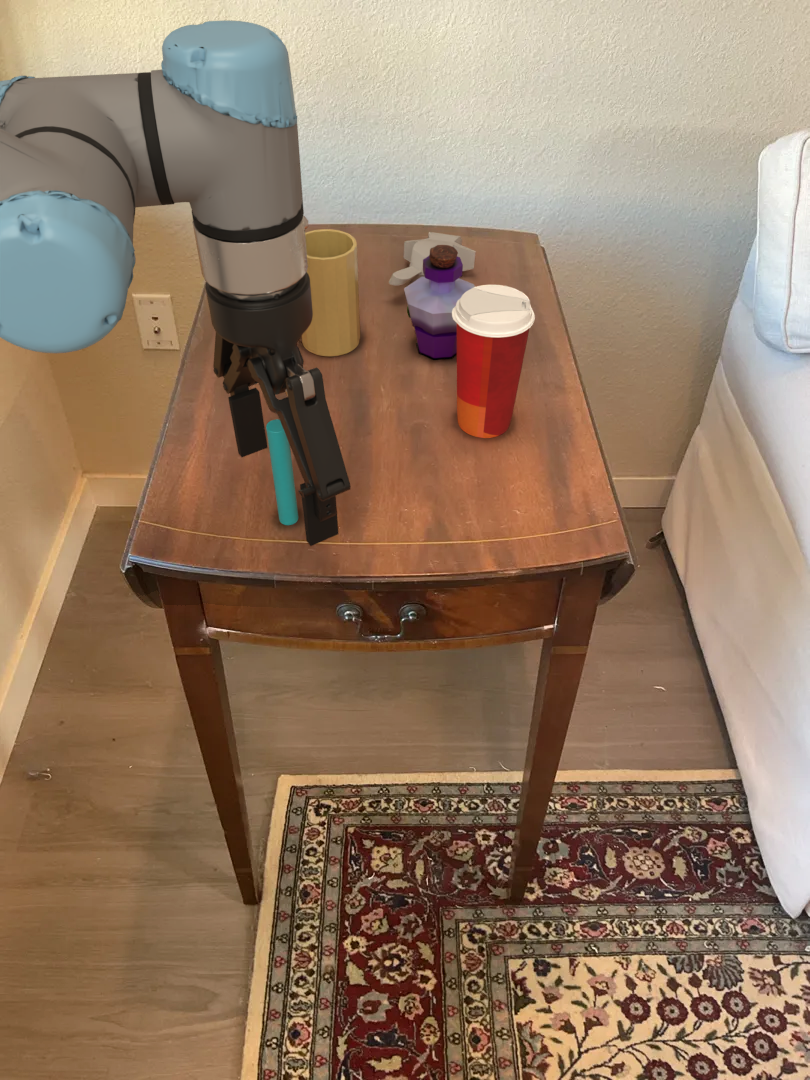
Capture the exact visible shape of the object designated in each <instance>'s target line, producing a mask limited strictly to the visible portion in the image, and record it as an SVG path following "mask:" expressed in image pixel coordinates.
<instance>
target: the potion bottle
mask: <svg viewBox="0 0 810 1080" xmlns="http://www.w3.org/2000/svg"><path fill="white" fill-rule="evenodd" d="M457 254H458V252H457V250H456V249H455V248H454V247H452V246H449V245H437V246H435V247H433V248H431V249H430V255H429V256H428V257H426V258H425V259H423V273H424V276H425V277H420V278H419V279H417V280H416V281H414V282H413V283H412V282H410V284H409V285H406V287H404V288H403V291H404V295H405V300H406V304H407V305H406V306H407V307H406V309H407V310H406V312H407V317H408V318H409V319H410V321H411V324H412V325H411V326H412V327H413V328H414V333H415V338H416V343H415V345H416V349H417V353H418V355H421V356H423V357H425V358H427V359H429V360H431V361H442V360H443V361H444V360H453V359H455V357H457V323H456V322H455V321H454V320H453V317H452V310H453V308H454V307H455V306H456V303H457V301H458V300H459V299H460V298H461V297H462V295H463V294H464V293H465V292H467V291H468V290H470V289H472V288H474V287H476V285H475V284H474V283H473V282H470V281H467V280H465V279H462V278H461V277H463V271H462V270H463V264H462V261H461V259H460V257H457Z"/></svg>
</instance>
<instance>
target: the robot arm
mask: <svg viewBox="0 0 810 1080" xmlns="http://www.w3.org/2000/svg"><path fill="white" fill-rule="evenodd" d="M161 51H162V53H161V55H162V61H161V62H160V66H161V69H153V70H150V71H148V72H146V71H144V72H131V73H128V72H127V73H109V74H90V75H86V74H85V75H69V76H48V77H47V76H46V77H45V76H44V77H36V76H30V75H28V76H27V75H17V76H14V77H12V78H11V79H5V80H0V339H2V340H3V341H5V342H7V343H10V344H11V345H14V346H16V347H19V348H22V349H24V350H27V351H31V352H36V353H43V354H67V353H72V352H77V351H81V350H84V349H87V348H89V347H91V346H93V345H96V344H97V343H98V342H100V341H101V340H103V339H104V338H105V337H106V336H107V335H109V334H110V333H111V331H112V330H113V329H114V328H115V327H116V326H117V325H118V323H119V322H120V321H121V320H122V318H123V315H124V311H125V308H126V304H127V297H128V294H129V293H128V292H129V289H130V286H131V284H132V282H133V280H134V268H135V265H136V259H137V258H136V255H135V251H136V250H135V247H134V224H135V218H136V217H135V216H136V208H145V207H146V208H147V207H157V206H159V207H160V206H170V205H175V204H178V203H180V204H181V203H189V206H190V209H191V216H192V227H193V234H194V238H195V244H196V249H197V255H198V261H199V267H200V271H201V275H202V277H203V279H204V281H205V293H206V299H207V305H208V309H209V315H210V320H211V325H212V327H213V330H214V331H215V338H214V350H213V351H214V352H213V365H212V367H213V373H214V375H215V376H216V377H217V378H223V380H222V388H223V389H224V391H225V392H226V394H228V395H229V396H228V397H227V399H228V404H229V408H230V415H231V420H232V426H233V431H234V437H235V442H236V449H237V453H238V455H239V456H240V457H241V458H245V457H247V456H251V455H252V454H255V453H257V452H259V451H263V450H265V449H269V446H268V439H267V432H266V425H265V420H264V414H263V413H264V412H263V407H262V401H261V400H262V399H261V393H260V391H259V390H258V388H257V387H253V388H250V387H252V386H255V385H256V384H258V385H259V388H260V390H261V392H262V396H263V398H264V400H265V403H266V405H267V408H268V410H269V412H271V413H275V414H277V417H278V419H280V421H281V424H282V427H283V429H284V432H285V434H286V437H287V439H288V442H289V444H290V449H291V453H292V454H293V457H294V459H295V461H296V464H297V467H298V469H299V472H300V474H301V477H302V479H303V481H304V482H303V483H299V487H300V489H299V490H297V492H298V495H300V498H301V506H302V513H303V514H302V515H303V521H304V522H303V523H304V530H305V531H304V532H305V540H306V542H307V544H308V545H309V546H310V547H313V546H314V545H317V544H319V543H322V542H324V541H326V540H328V539H330V538H333V537H335V536H337V535H339V523H338V508H337V507H338V506H337V496H339V495H341V494H343V493H345V492H348V491H350V490H351V481H350V479H349V476H348V471H347V469H346V465H345V460H344V458H343V455H342V450H341V448H340V444H339V440H338V436H337V433H336V431H335V427H334V423H333V420H332V416H331V413H330V409H329V406H328V403H327V402H328V401H327V399H326V393H325V385H324V378H323V373H322V372H321V370H320V368H319V367H317V366H316V367H313V368H311V369H308V370H306V369H305V368H304V362H305V361H304V358H303V355H302V353H301V351H300V347H299V346H298V342H299V340H300V339H301V338H302V337H301V336H302V334H303V333H304V332H305V331H306V330H307V329H308V327H309V326H310V324H311V321H312V317H313V311H312V299H311V287H310V277H309V275H308V273H307V268H308V262H307V249H306V236H305V233H306V230H307V229H308V228H309V219H308V218H307V217H306V216H305V214H304V213H305V212H304V199H303V184H302V183H303V182H302V170H301V157H300V156H301V155H300V143H299V141H300V140H299V129H298V128H299V127H298V114H297V110H296V108H297V107H296V101H295V95H294V87H293V79H292V73H291V72H292V71H291V65H290V64H291V63H290V55H289V51H288V49H287V46H286V44H285V43H284V42H283V40H282V39H281V38H280V37H279V36H278V34H277V33H276V32H275V31H273V30H271V29H270V28H269V27H266V26H263V25H261V24H257V23H253V22H248V21H243V20H208V21H205V22H204V21H203V23H199V24H187V25H183V26H180V27H178V28H176V29H174V30H172V31H171V32H170V33H169V34H168V35H167V36H166V37H164V40H163V41H162V46H161ZM282 393H284V394H285V396H286V397H284V398H280V399H279V398H278V397H277V396H278V395H280V394H282Z"/></svg>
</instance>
